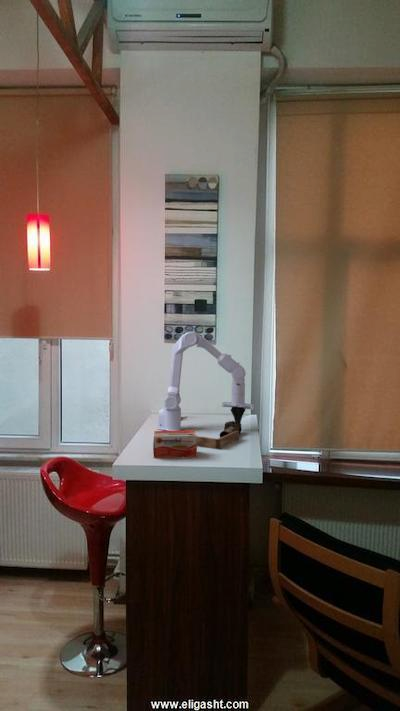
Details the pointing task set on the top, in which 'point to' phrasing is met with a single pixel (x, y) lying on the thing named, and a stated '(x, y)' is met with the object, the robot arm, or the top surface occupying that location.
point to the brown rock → (230, 428)
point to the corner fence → (218, 440)
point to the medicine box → (175, 444)
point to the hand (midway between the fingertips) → (237, 424)
